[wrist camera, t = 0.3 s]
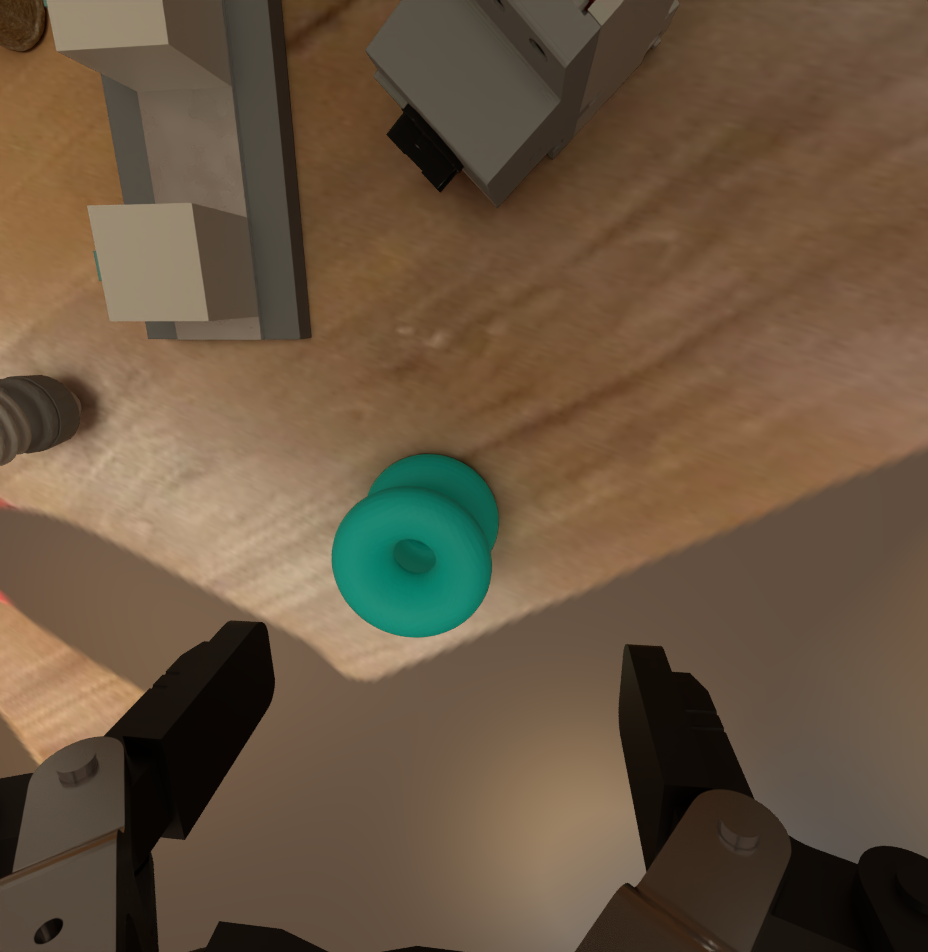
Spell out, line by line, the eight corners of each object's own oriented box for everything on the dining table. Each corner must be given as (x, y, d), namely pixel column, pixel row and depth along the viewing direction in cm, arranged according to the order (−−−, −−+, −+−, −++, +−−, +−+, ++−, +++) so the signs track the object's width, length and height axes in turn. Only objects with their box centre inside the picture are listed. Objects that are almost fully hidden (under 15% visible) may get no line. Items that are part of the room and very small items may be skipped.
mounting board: (103, -37, 34) (77, -56, 32) (276, -51, 32) (260, -72, 31) (166, 336, 41) (148, 338, 39) (311, 337, 39) (300, 339, 38)
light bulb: (122, 427, 43) (-24, 475, 32) (63, 446, 44) (-97, 498, 33) (87, 356, 42) (-79, 380, 31) (28, 378, 43) (-153, 408, 32)
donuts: (442, 469, 31) (517, 616, 33) (464, 427, 40) (521, 544, 43) (294, 534, 33) (374, 666, 35) (347, 480, 43) (407, 588, 45)
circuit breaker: (398, 146, 35) (306, 49, 21) (570, -67, 31) (601, -373, 17) (481, 237, 36) (448, 202, 22) (659, 43, 32) (760, -157, 18)
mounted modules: (104, -31, 32) (10, -101, 26) (216, -40, 31) (145, -114, 25) (162, 316, 38) (97, 321, 32) (258, 316, 37) (208, 321, 31)
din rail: (118, -60, 32) (111, -65, 31) (217, -68, 31) (212, -74, 30) (181, 339, 38) (177, 339, 38) (264, 339, 38) (261, 339, 37)
